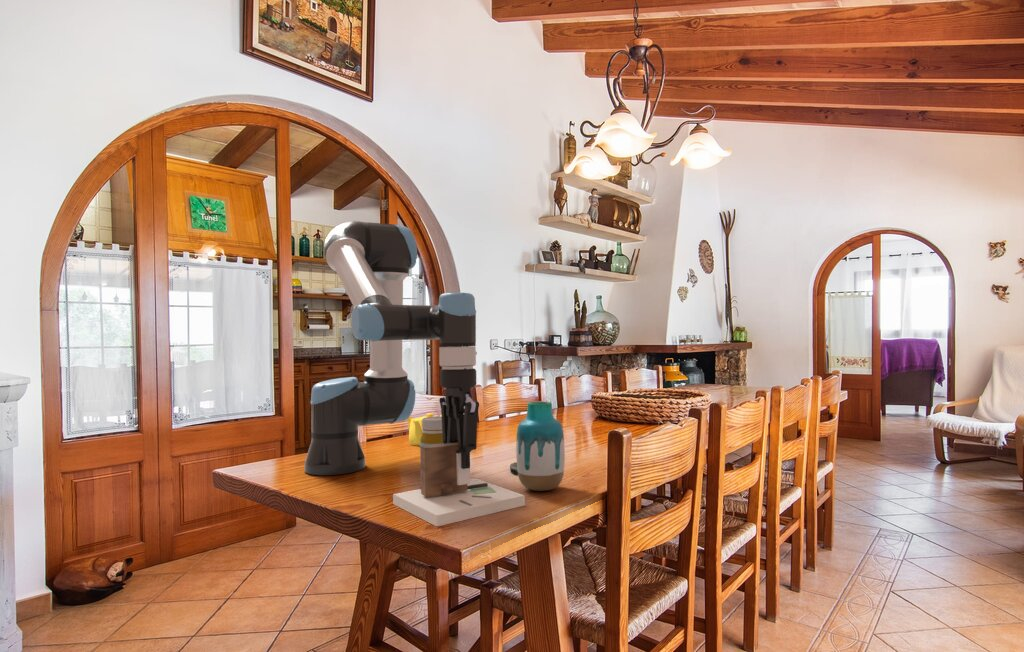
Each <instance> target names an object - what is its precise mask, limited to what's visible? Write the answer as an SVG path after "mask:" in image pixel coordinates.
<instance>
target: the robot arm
mask: <svg viewBox="0 0 1024 652" xmlns="http://www.w3.org/2000/svg"><path fill="white" fill-rule="evenodd" d="M323 244H324V245H323V256H324V259H325V261H326V263H327V265H328V266H329V267H330V268H331V269H332V271H334V272H336V274H337V276H338V278H339V280H340V282H341V284H342V286H343V288H344V290H345V292H346V295H347V296H348V298H349V300H350V302H351V304H352V306H353V309H352V311H351V317H350V325H351V328H352V329H351V333H352V335H353V337H354V338H355V339H356V340H359V341H370V342H369V343H370V345H369V351H370V353H369V368H368V370H367V371H366V372H364V374H363V376H364V377H363V381H359V379H358V378H357V377H355V376H349V377H348V376H347V377H338V378H332V379H328V380H324V381H319V382H318V383H315V384H314V385H313V386H312V388H311V393H310V394H311V395H310V407H311V410H310V411H311V413H310V414H311V415H310V416H311V417H310V418H311V420H310V421H311V441H310V444H309V447H308V451H307V454H306V457H305V460H304V472H305V473H306V474H307V475H314V476H335V475H336V476H337V475H344V474H351V473H355V472H358V471H359V472H360V471H361V470H363V469H365V467H366V457H365V454H364V450H363V448H362V445H361V443H360V440H359V427H365V426H371V425H373V426H374V425H381V424H389V425H390V424H391V425H392V424H395V423H402V422H405V421H407V419H408V418H409V416H410V417H411V415H412V413H413V411H414V408H415V403H416V390H415V384H414V382H413V381H412V380H411V379H409V378H408V377H409V376H408V372H407V371H405V370H404V368H403V341H418V340H419V341H422V340H423V341H425V340H427V341H438V340H439V343H438V344H439V345H438V346H439V347H438V350H439V356H438V357H439V360H438V361H439V363H438V365H439V366H440V367H442V368H441V369H440V370H439V386H440V387H441V388H444V389H445V388H446V390H445V396H444V397H440V398H439V405H440V412H441V414H440V415H441V416H442V434H443V444H446V443H455V442H458V448H459V450H455V451H456V461H457V485H464V484H470V479H471V452H472V451H475V450H476V449H477V435H478V412H479V407H480V403H479V401H474V400H473V395H472V391H471V389H472V388H474V387H475V386H476V385H477V370H476V368H474V366H476V365H477V349H476V346H477V344H476V342H477V341H476V340H477V322H476V321H477V318H476V317H477V316H476V315H477V310H476V302H475V301H476V299H475V296H474V295H473V294H472V293H471V292H470V293H469V292H444V293H441V294H440V295H439V298H438V304H437V305H426V304H425V305H424V304H420V305H419V304H415V305H414V304H412V305H410V304H404V296H403V295H404V280H405V279H406V278H407V277H408V276H409V274H410V270H411V269H413V268H415V265H416V264H417V258H418V246H417V240H416V238H415V236H414V234H413V232H412V230H411V229H410V228H408V226H405V225H399V224H394V223H380V222H370V221H369V222H367V221H366V222H365V221H359V220H352V221H351V220H350V221H346V222H343V223H341V224H339V225H337V226H336V227H334V228H333V229H332V230H331V231H330V232H329V233H328V235H327V237H326V238H325V241H324V243H323Z"/></svg>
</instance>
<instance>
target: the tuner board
mask: <svg viewBox="0 0 1024 652" xmlns="http://www.w3.org/2000/svg"><path fill="white" fill-rule="evenodd" d="M482 483H487V484H488V487H481V488H474V489H468V490H467V491H460V492H453V493H451V494H440V495H434V496H427V497H425V496H424V495H422V494H421V488H418V489H413V490H408V491H402V492H398V493H393V494H392V504H393V505H395V506H396V507H398V508H400V509H402V510H404V511H406V512H407V513H410V514H412V515H414V516H415V517H417V518H419V519H421V520H423V521H425V522H427V523H429V524H431V525H433V526H435V527H441V526H447V525H449V524H454V523H457V522H462V521H465V520H470V519H474V518H479V517H482V516H487V515H490V514H494V513H500V512H504V511H508V510H512V509H516V508H521V507H524V506H526V502H525V499H526V497H525V494H523V493H518V492H516V491H513V490H510V489H507V488H505V487H501V486H499V485H495V484H493V483H491V482H487V481H483V480H482V479H478V478H470V484H467V486H469V485H475V484H482Z"/></svg>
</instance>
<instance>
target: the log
mask: <svg viewBox="0 0 1024 652" xmlns="http://www.w3.org/2000/svg"><path fill="white" fill-rule="evenodd" d="M509 471H510V473H511V474H512V475H514V476H517V477H519V476H518V470H517V461H516V462H513V463H510V465H509Z"/></svg>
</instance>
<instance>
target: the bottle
mask: <svg viewBox="0 0 1024 652" xmlns="http://www.w3.org/2000/svg"><path fill="white" fill-rule="evenodd" d="M422 432H423V433H422V436H421V439H420V446H419V447H420V453H419V454H420V455H421V446H427V445H436V444H443V434H442V417H440V416H433V417H427V418H423V419H422Z"/></svg>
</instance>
